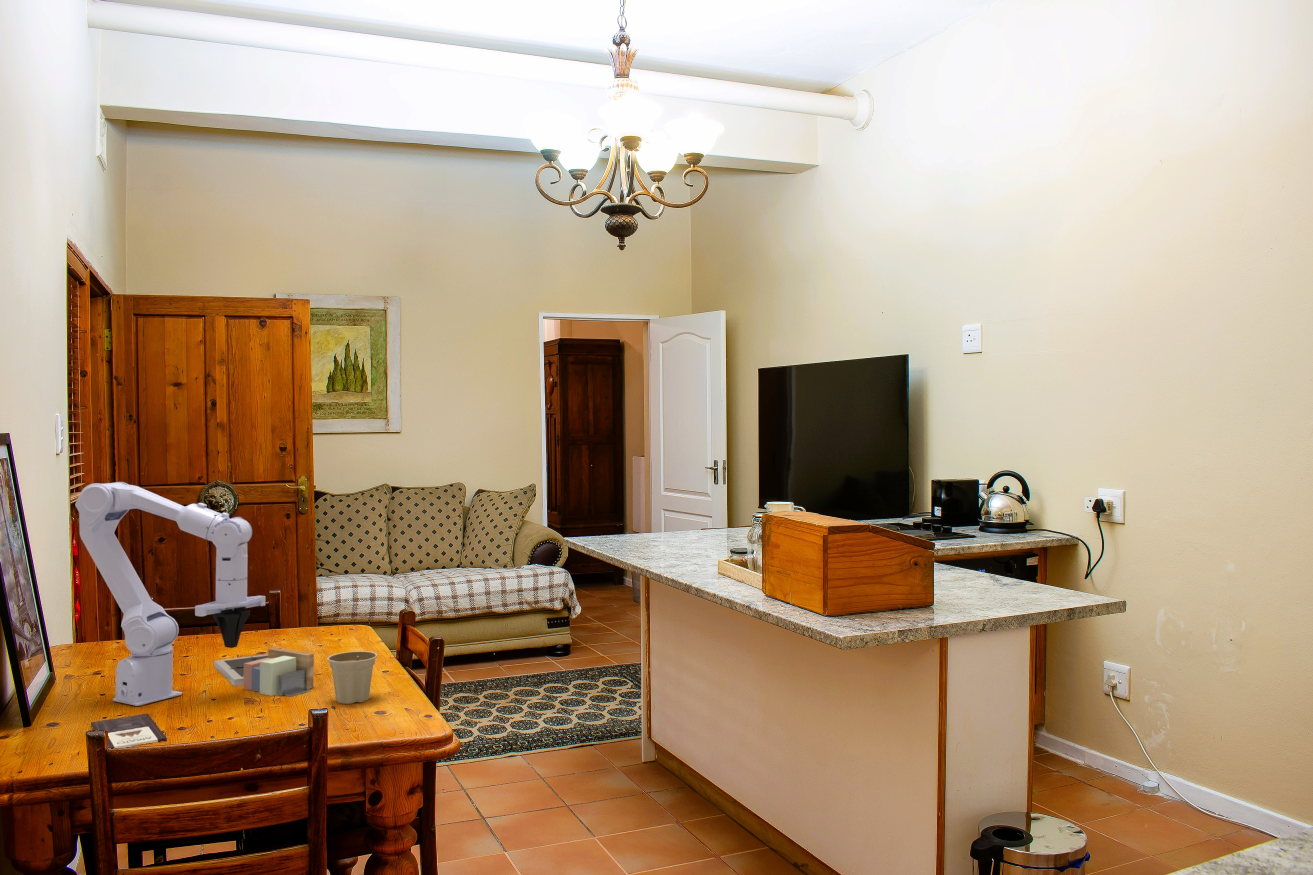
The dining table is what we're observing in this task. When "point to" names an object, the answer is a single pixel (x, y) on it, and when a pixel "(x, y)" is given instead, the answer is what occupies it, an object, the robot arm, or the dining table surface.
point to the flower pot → (352, 675)
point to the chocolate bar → (130, 731)
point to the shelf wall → (297, 662)
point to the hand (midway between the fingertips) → (230, 646)
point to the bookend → (292, 683)
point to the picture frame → (235, 668)
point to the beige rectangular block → (274, 673)
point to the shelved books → (252, 675)
